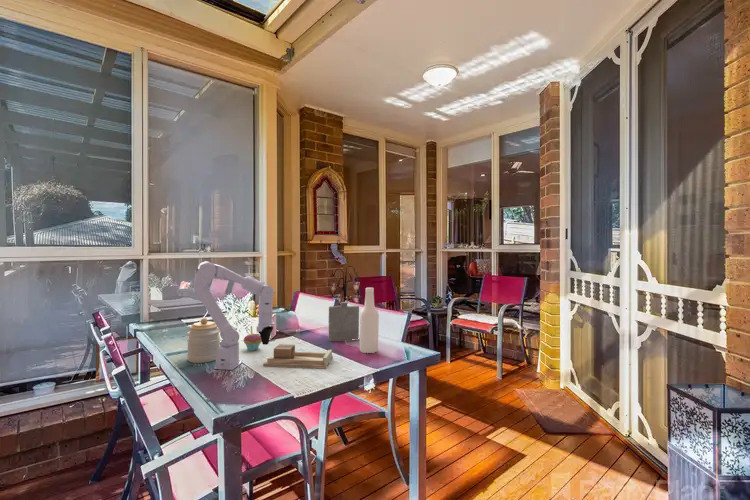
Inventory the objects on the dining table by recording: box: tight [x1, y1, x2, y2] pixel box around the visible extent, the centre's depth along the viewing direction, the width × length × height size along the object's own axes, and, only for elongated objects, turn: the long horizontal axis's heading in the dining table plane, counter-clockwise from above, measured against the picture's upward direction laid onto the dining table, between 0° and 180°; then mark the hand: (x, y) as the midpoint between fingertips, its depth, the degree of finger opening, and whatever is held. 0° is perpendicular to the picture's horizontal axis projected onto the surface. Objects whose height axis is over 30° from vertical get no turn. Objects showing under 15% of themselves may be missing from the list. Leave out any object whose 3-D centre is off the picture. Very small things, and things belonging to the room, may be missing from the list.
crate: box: [273, 343, 296, 359], centre depth 158 cm, size 7×7×5 cm
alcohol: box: [359, 286, 380, 355], centre depth 174 cm, size 9×9×30 cm
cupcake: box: [243, 325, 262, 352], centre depth 174 cm, size 9×8×12 cm
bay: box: [262, 349, 333, 369], centre depth 157 cm, size 14×26×4 cm, turn 85°
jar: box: [186, 317, 221, 364], centre depth 160 cm, size 13×13×18 cm
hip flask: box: [328, 301, 360, 342], centre depth 193 cm, size 16×4×20 cm, turn 103°
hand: (265, 344), depth 158 cm, fingers closed
